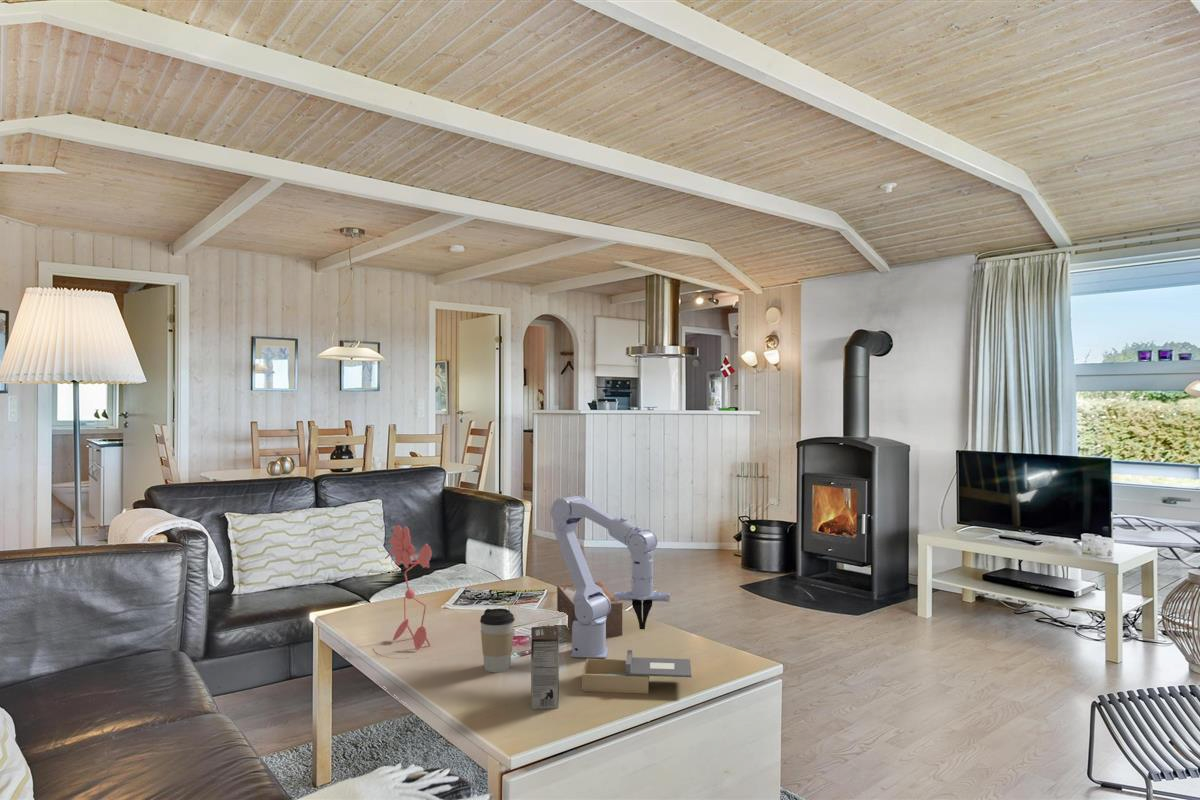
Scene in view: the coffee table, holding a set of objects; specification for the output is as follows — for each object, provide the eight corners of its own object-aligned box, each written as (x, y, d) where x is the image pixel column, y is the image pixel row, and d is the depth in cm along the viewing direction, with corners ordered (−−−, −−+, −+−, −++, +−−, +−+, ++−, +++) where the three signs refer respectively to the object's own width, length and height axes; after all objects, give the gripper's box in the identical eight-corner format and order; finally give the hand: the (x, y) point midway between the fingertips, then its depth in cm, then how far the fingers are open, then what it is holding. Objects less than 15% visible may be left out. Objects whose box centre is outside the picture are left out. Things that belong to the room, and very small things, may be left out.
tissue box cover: (557, 615, 240) (557, 585, 240) (599, 612, 244) (599, 582, 244) (575, 640, 216) (575, 606, 216) (622, 636, 219) (622, 602, 219)
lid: (624, 675, 176) (624, 664, 176) (626, 659, 187) (626, 649, 187) (691, 677, 175) (691, 666, 175) (689, 661, 186) (689, 651, 186)
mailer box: (581, 691, 177) (581, 674, 177) (586, 674, 188) (586, 658, 188) (648, 693, 176) (648, 676, 176) (649, 676, 187) (649, 660, 187)
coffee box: (531, 693, 176) (531, 626, 176) (558, 692, 176) (558, 625, 176) (530, 709, 167) (530, 638, 167) (559, 708, 167) (559, 637, 167)
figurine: (403, 630, 223) (401, 516, 223) (448, 652, 204) (445, 527, 204) (354, 643, 213) (352, 523, 212) (397, 667, 194) (395, 535, 193)
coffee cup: (520, 663, 196) (520, 607, 196) (505, 675, 187) (505, 617, 187) (489, 659, 199) (490, 604, 199) (473, 671, 190) (473, 613, 190)
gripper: (614, 579, 191) (614, 632, 191) (669, 581, 190) (669, 633, 190) (615, 573, 198) (615, 623, 198) (669, 574, 197) (669, 625, 197)
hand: (642, 628), depth 194 cm, fingers closed
